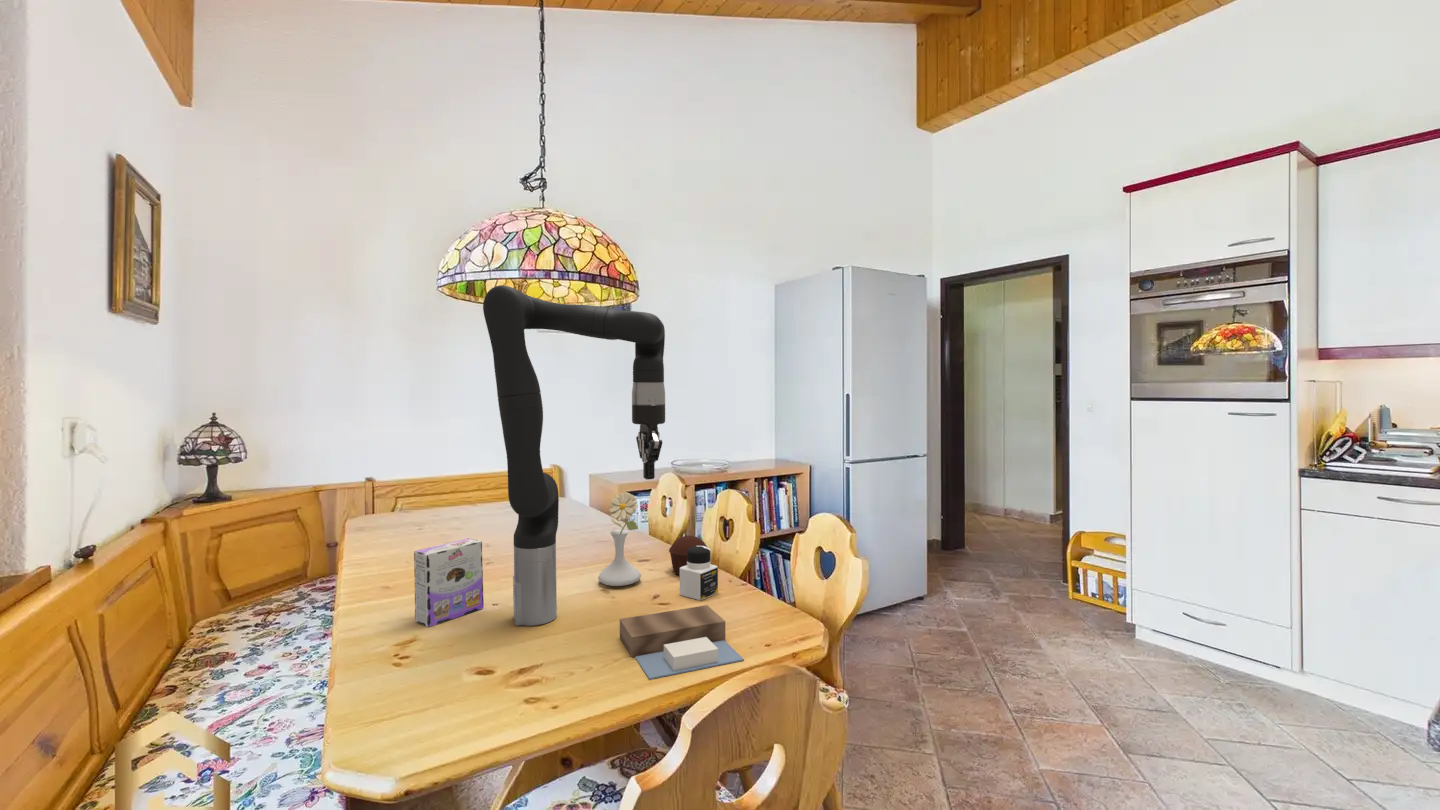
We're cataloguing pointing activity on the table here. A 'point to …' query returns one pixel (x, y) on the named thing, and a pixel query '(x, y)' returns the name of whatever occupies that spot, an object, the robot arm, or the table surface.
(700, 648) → the white eraser
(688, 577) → the medicine bottle
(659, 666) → the mat
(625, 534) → the flower in vase
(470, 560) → the candy box
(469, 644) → the table surface
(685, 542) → the muffin
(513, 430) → the robot arm
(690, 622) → the wooden block
